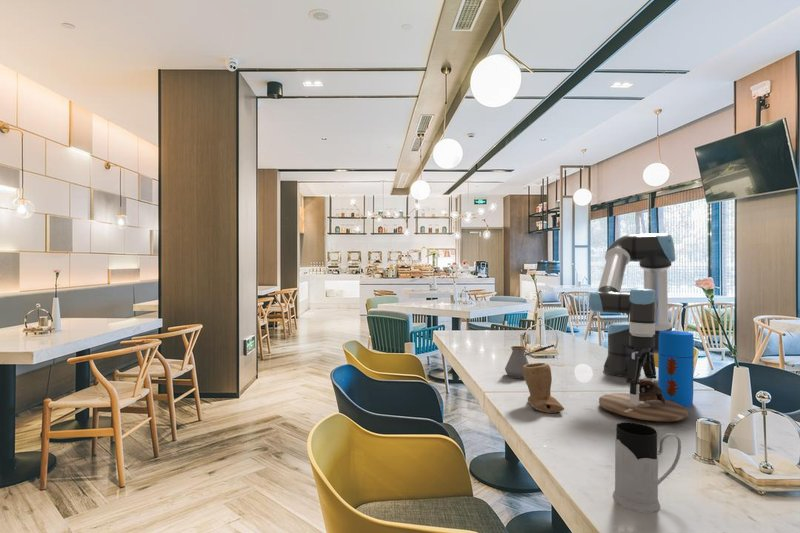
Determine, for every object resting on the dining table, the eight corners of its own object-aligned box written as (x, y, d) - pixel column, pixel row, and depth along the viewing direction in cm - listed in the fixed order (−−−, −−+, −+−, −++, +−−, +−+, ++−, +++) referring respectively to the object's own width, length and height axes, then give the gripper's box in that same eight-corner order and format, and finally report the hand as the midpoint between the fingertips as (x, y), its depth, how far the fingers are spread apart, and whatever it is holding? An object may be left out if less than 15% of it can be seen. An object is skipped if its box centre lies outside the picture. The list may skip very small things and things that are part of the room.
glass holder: (604, 490, 94) (604, 421, 94) (665, 487, 96) (665, 419, 95) (629, 513, 85) (629, 437, 85) (695, 510, 87) (696, 435, 87)
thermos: (654, 401, 157) (655, 332, 157) (661, 395, 165) (662, 329, 165) (690, 408, 150) (690, 336, 149) (695, 401, 157) (696, 332, 157)
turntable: (619, 391, 164) (619, 388, 164) (699, 409, 144) (699, 406, 144) (584, 405, 147) (584, 402, 147) (670, 427, 127) (670, 424, 127)
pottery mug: (673, 408, 139) (665, 388, 138) (645, 420, 141) (636, 399, 139) (653, 388, 151) (645, 369, 149) (627, 399, 152) (619, 380, 151)
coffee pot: (503, 378, 188) (503, 343, 188) (506, 372, 199) (506, 339, 199) (555, 382, 182) (556, 347, 181) (555, 376, 192) (555, 342, 192)
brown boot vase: (519, 399, 158) (520, 358, 158) (553, 401, 157) (553, 359, 157) (527, 413, 143) (528, 368, 143) (564, 415, 142) (565, 369, 142)
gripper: (644, 330, 156) (643, 391, 156) (614, 336, 141) (614, 404, 141) (667, 332, 150) (666, 396, 150) (639, 340, 135) (638, 410, 135)
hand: (641, 400), depth 146 cm, fingers closed on pottery mug, 11 cm apart
